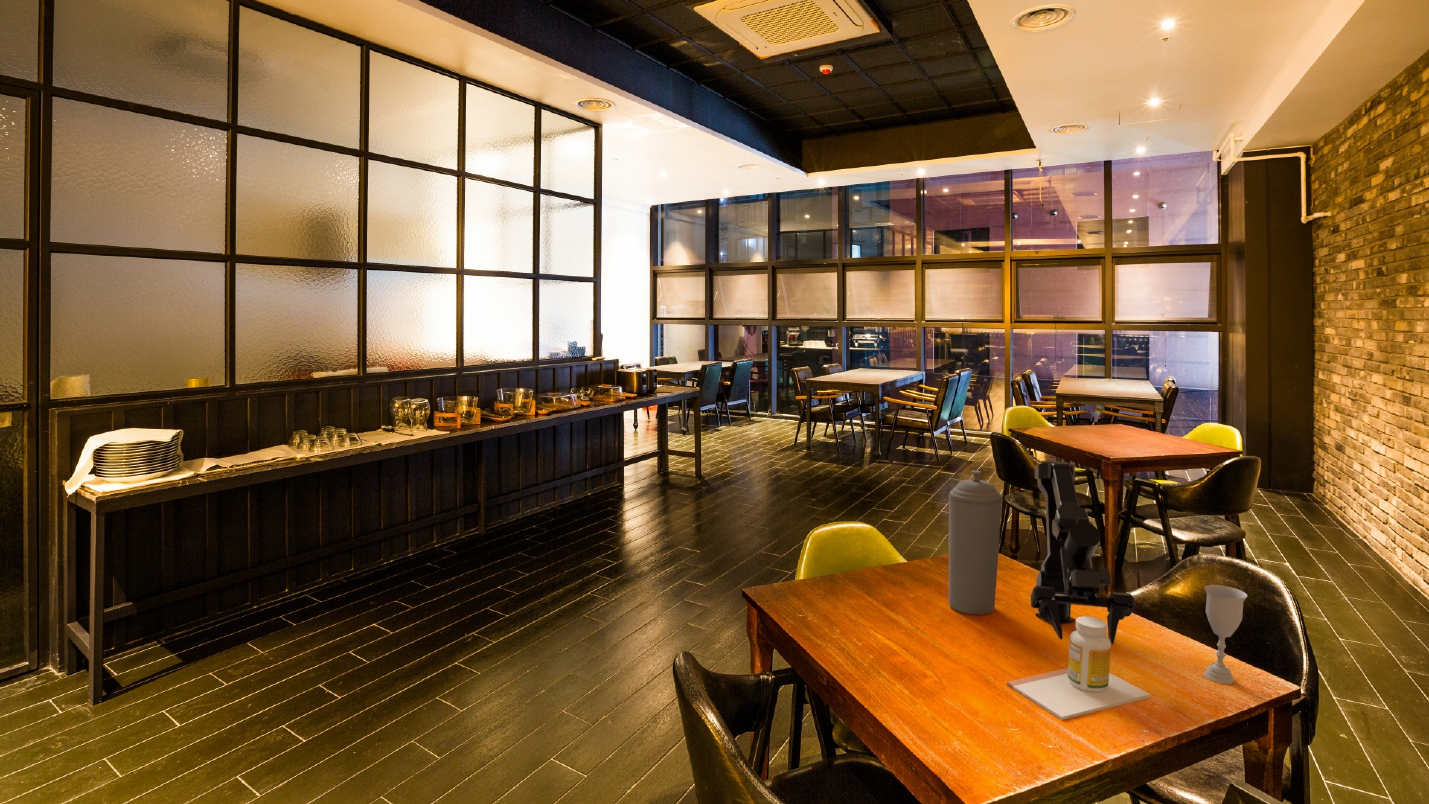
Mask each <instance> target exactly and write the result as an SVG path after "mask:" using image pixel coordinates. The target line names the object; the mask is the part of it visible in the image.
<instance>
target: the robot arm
mask: <svg viewBox="0 0 1429 804" xmlns="http://www.w3.org/2000/svg"><path fill="white" fill-rule="evenodd" d="M1034 478H1035V479H1036V480H1037V487H1038V489H1039V491H1040V492H1041V493H1042V495H1043V496H1044V501H1045V522H1046V524H1045V525H1046V526H1045V527H1046V545H1047V547H1046V548H1047V555H1046V557H1045V558H1044V561H1042V563H1041V565H1040V570H1039V571H1038V574H1037V576H1036V581H1035V583H1036V585H1035V586H1034V587H1033V589H1032V591H1031V594H1030V606H1031V608H1032V609H1037V611H1038V612H1035V613H1034V614H1035V616H1036V617H1038V618H1039V619H1041V620H1044V621H1046V622H1048V623H1050V624H1051V626H1052V628H1053V631H1055V634H1056V635H1057V637H1058V639H1059V640H1063V637H1064V636H1063V627H1062V625H1063V624H1064V625H1065V624H1069V623H1074V622H1075V623H1076V619H1077V618H1076V619H1075V618H1073V617H1072V616H1071V607H1072V605H1073V606H1074V605H1075V606H1088V607H1097V608H1098V607H1099V608H1107V609H1106V611H1107V613H1108V614H1107V616H1106V624H1107V634H1108V638H1109V640H1110V642H1111V646H1113V645H1114V644H1115V639H1116V634H1117V631H1118V626H1119V622H1120V621H1122V620H1123V621H1124V619H1125V618H1126V617H1130V616H1131V615H1132V613H1133V612H1134V610H1135V609H1136V606H1137V605H1136V604H1137V603H1136V598H1135V597H1134V596H1133V595H1132V594H1131V593H1129V592H1128V593H1126V592H1116V591H1112V592H1111V593H1110V595H1109V596H1108V597H1104V596H1103V597H1101V596H1097V594H1099V593H1100V589H1102V586H1109V585H1111V584H1112V577H1111V572H1110V571H1111V570H1110V568H1102V567H1099V568H1098V569H1097V571H1094V568H1093V563H1092V557H1093V556H1094V555H1095V552H1096V550H1097V549H1098V546H1099V543H1100V541H1101V539H1102V538H1101V536H1102V535H1101V532H1100V531H1099V529H1097V527H1096V526H1095V525H1094V524H1093V522H1092V521H1090V518H1089V515H1088V511H1086V510H1085V509H1084V508H1082V507H1081V506H1080V503H1079V500H1078V496H1077V495H1078V494H1077V492H1076V488H1075V486H1076V485H1075V481H1076V466H1075V465H1073V464H1070V463H1068V462H1067V461H1056V460H1055V461H1051V460H1040V462H1039V464H1036V465H1035V467H1034Z"/></svg>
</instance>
